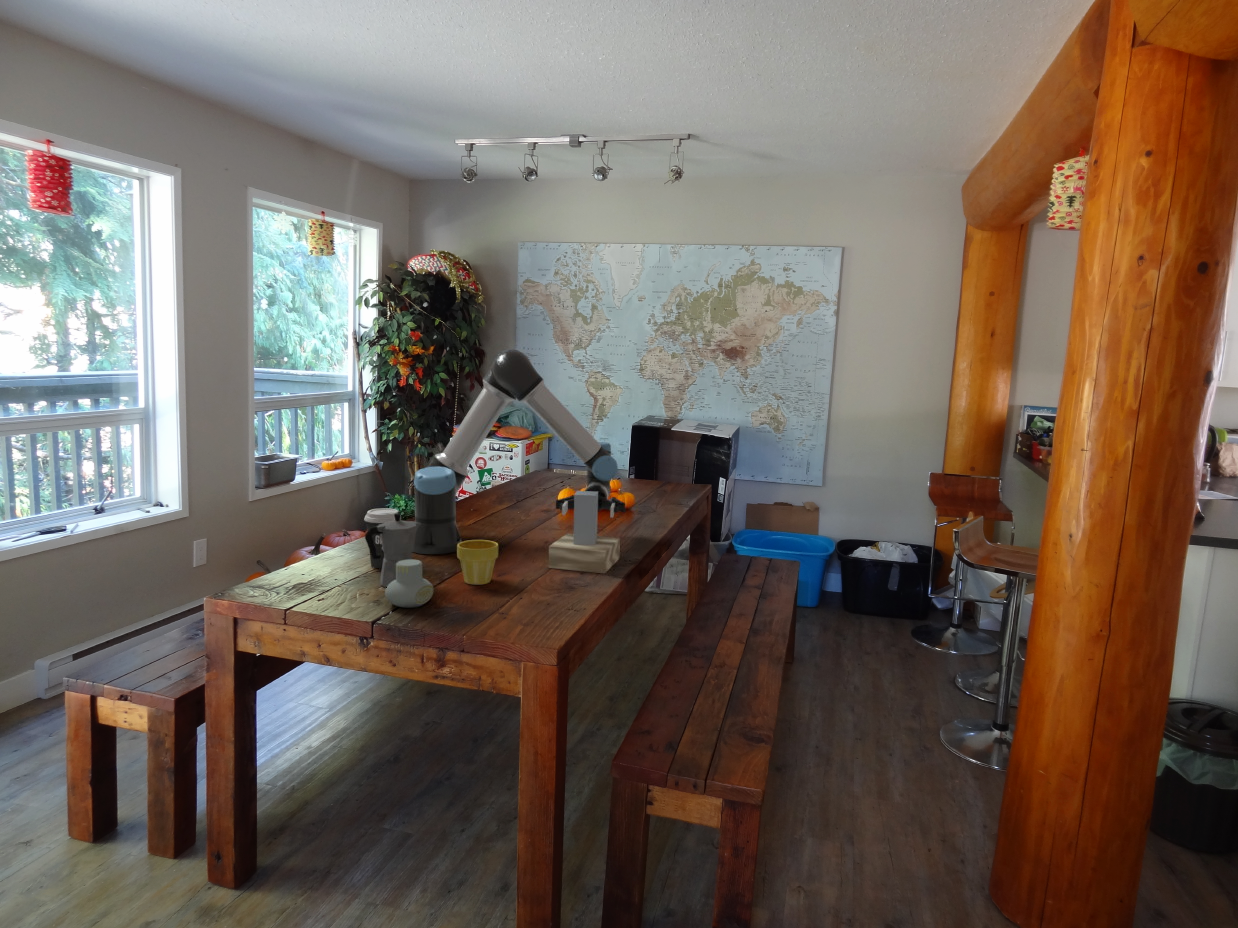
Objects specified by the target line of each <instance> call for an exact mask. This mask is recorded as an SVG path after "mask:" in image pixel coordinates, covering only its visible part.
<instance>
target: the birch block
mask: <svg viewBox="0 0 1238 928" xmlns="http://www.w3.org/2000/svg"><path fill="white" fill-rule="evenodd" d="M573 540H574V533H565V535H563V536H562V537H560V538H559V539H557V540H556V541H554V542H553V543H552V544H550V545H549V546H548V568H549V569H558V570H567V571H577V572H578V571H579V572H587V573H597V574H606V573H607V571H609V569H611V567H613V566H614V565H615V564H616V563H617V562H618V561H619V560H620V550H621V548H620V547H621V538H620V537H613V536H612V537H611V536H610V537H609V536H601V535H599V536H598V535H597V541H596V544H595V545H576V544H573Z"/></svg>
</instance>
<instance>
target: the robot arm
mask: <svg viewBox="0 0 1238 928" xmlns="http://www.w3.org/2000/svg"><path fill="white" fill-rule="evenodd" d="M544 383H545V380H544V378H543V377H542V376H541V374H539V372H538V371H537V370H536V368H535V367H534V366H533V364H532V362H531V360H530V359H529V357H528V356H527V355H526V354H524V352H522V351H520V350H517V349H506V350H503V351H502V352H500V353H499V354H497V356H496V357H495V359H494V360H493V362H492V365H491V366H490V368H489V369H488V371H487V372H486V374H485V376H483V379H482V384H483V388H482V390H481V392H480V393H479V394H478V396H477V398H476V399H475V401H474V402H473V404H472V406H471V407H470V409H469V410H468V412H467V414H466V415H465V417H464V418H463V420H462V422H461V423H460V425H459V426H458V427H457V429H456V431H455V433H454V434H453V435H452V437H451V439H450V441H449V442H448V444H446V446H445V448H444V450H443V451H442V452H440V453H436V454H435V455H434V456H433V458H432V459H431V461H430V463H429V465H428V466H427V467H424V468H421V469H418V470H417V471H416V472H415V474H414V479H413V485H414V522H419V523H421V525H419V527H418V529H417V531H416V535H415V542H414V549H413V551H412V553H416V554H419V555H445V554H451V553H455V552H457V545H458V544H459V543H460V542H463V541H462V537H461V534H460V532H459V528H458V525H457V522H456V498H457V497H456V496H457V493H458V491H459V489H460V488H461V486H462V485H463V483H464V482H465V480H466V478H467V477H468V475H469V472H468V466H469V464H470V463H471V461H472V459H474V457H475V455H476V453H477V452H478V451H479V448H480V447H481V446H482V444H483V443H484V440H485V439H486V438H487V436H488V434H489V433H490V431H491V430H492V429H493V427H494V425H495V423H496V422H497V421H498V419H499V417H500V415H501V414H502V412H503V411H504V410H505V407H506V406H507V404H508V403H509V402H511V403H512V402H515V401H516V400H517V401H518V402H520V403H525V404H526V406H528V408H530V409H531V410H532V411H533V412H534V413H535V414H536V416H537V417H538V418H539V419H541V421H542V422H543V423H545V425H546V426H547V427H548V428H549V429H550V430H551V431H552V432H553V433H554V434H555V436H557V438H558V439H560V440H561V441H562V443H564V444H565V445H566V447H567V448H568V449H569V450H570V451H571V452H572V453H573V454H574V455H575V457H577V458H578V459H579V460H580V461H581V462H582V464H584V466H585V467H586V486H585V489H584V491H594V492H598V511H601V510H605V509H606V510H607V511H610V512H609V513H610V518H614V516H615V513H616V514H617V513H619V512H621V513H625V512H626V503H625V502H624V501H622V500H619V499H617V497H616V496H612V497H610V495H611V492H612V491H611V490H612V489H611V488H612V486H611V480H613V479H614V478H615V477H616V476H617V474H618V470H619V469H618V468H619V467H618V463H617V460H616V459H615V458H614V457H612V450H611V449H612V447H611V444H610V443H609V442H604V441H597V439H596V438H595V437H594V436H593V435H592V434H591V433H590V432H589V431H588V430H587V429H586V428H585V427H584V426H583V425H582V423H580V421H579V420H578V419H577V418H576V417H575V416H574V415H573V414H572V413H571V411H569V409H567V407H565V405H564V404H562V402H561V401H560V400H559V399H558V398H557V397H556V396H555V395H554V393H552V392H551V391H550V389H549V388H548V387H547V386H546V385H545V384H544ZM574 495H575V494H574ZM574 495H573V494H571V495H569V496H567V497H563V498H559V499H556V500H555V509H556V510H560V511H561V515H562V516H565V515H566V513H568V510H570V509H574ZM609 497H610V499H608V498H609Z"/></svg>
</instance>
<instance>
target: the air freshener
mask: <svg viewBox="0 0 1238 928" xmlns="http://www.w3.org/2000/svg"><path fill="white" fill-rule="evenodd" d="M434 589H435V588H434V585H433V584H432V583H431V582H430V581H429V580H428V579H426V578H423V563H422V561H421V560H419V559H408V560H402V561H399V562H397V563H396V580H394V581H392V582H391V583H390V584H389V585H388V586H387V588H386V587H385V591H384V596H385V598H386V600H387V601H388V602H389V603H391V604H392V605H393V606H396V607H400V608H408V609H409V608H419V607H422V606H423V605H424V604H426V603H427V602H428V601H429V600H430V599H431V598H432V597H433V594H434Z"/></svg>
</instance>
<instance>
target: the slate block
mask: <svg viewBox="0 0 1238 928" xmlns="http://www.w3.org/2000/svg"><path fill="white" fill-rule="evenodd" d="M598 515H599V514H598V492H594V491H585V490H576V492H575V493H574V508H573V534H574V540H573V544H576V545H595V544H596V541H597V536H598Z"/></svg>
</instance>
